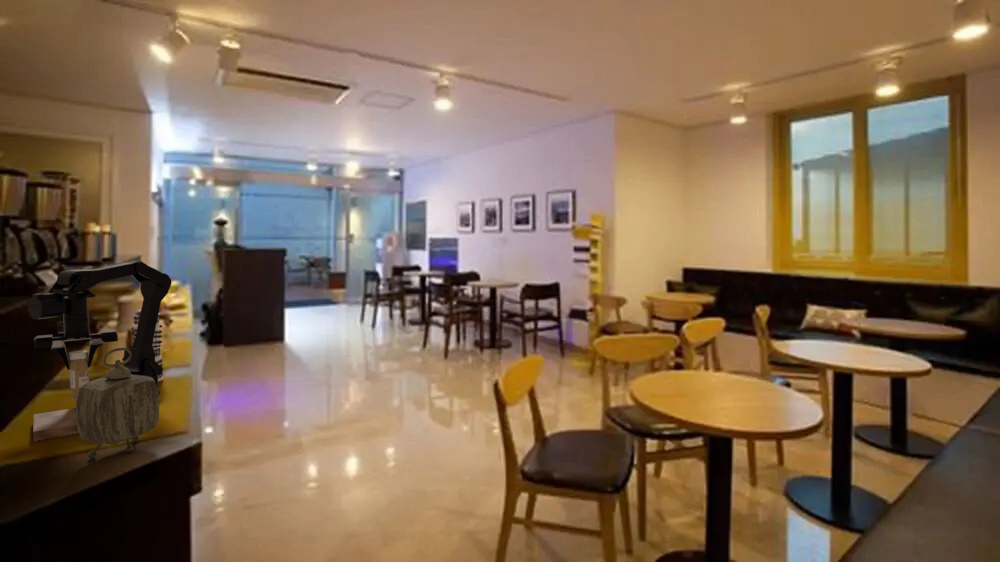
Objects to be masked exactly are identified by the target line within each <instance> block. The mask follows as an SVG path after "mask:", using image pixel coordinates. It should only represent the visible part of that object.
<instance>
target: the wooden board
mask: <svg viewBox="0 0 1000 562" xmlns="http://www.w3.org/2000/svg"><path fill="white" fill-rule="evenodd" d="M32 426H33V429H32V430H33V431H32V436H33V442H39V441H38V440H40V441H44V440H45V439H46V440H52V439H54V438H55V439H56V437H57V438H61V437H67V435H68V436H73V435H72V434H74V435H79V434H78V433H79V432H78V427H77V420H76V407H74V408H68V409H61V410H53V411H47V412H42V413H40V412H39V413H34V414H33V425H32Z"/></svg>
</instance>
